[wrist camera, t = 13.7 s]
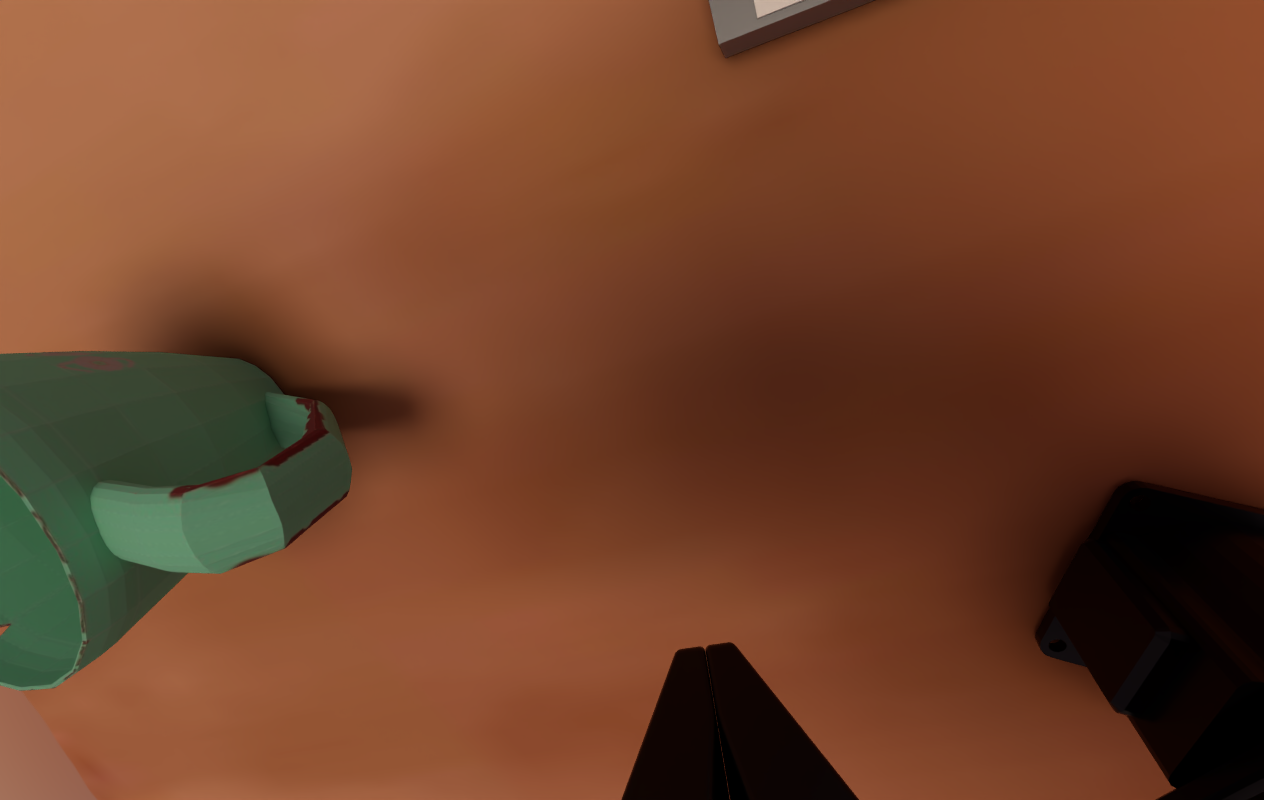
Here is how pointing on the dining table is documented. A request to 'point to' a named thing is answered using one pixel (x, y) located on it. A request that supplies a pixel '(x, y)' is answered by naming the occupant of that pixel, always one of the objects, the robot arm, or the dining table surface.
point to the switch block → (769, 19)
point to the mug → (141, 491)
